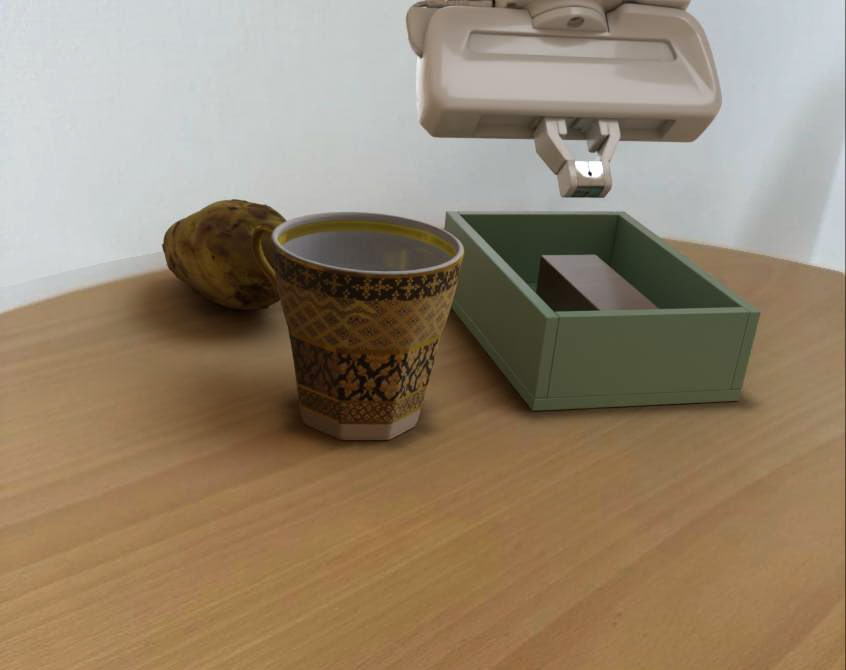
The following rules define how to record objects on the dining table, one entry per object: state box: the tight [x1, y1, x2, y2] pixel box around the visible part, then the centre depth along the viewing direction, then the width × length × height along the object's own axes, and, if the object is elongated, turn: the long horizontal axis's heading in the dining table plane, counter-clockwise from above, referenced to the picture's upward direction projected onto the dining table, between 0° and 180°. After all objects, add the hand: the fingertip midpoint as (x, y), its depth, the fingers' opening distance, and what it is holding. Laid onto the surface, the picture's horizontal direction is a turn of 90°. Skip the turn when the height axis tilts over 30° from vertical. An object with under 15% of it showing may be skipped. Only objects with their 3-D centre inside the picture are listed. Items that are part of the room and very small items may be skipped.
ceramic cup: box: [251, 211, 464, 441], centre depth 63 cm, size 13×10×10 cm
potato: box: [161, 198, 287, 311], centre depth 74 cm, size 8×13×8 cm, turn 13°
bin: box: [443, 210, 762, 412], centre depth 75 cm, size 14×20×6 cm
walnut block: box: [536, 255, 659, 313], centre depth 73 cm, size 4×4×12 cm
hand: (587, 193), depth 73 cm, fingers closed
